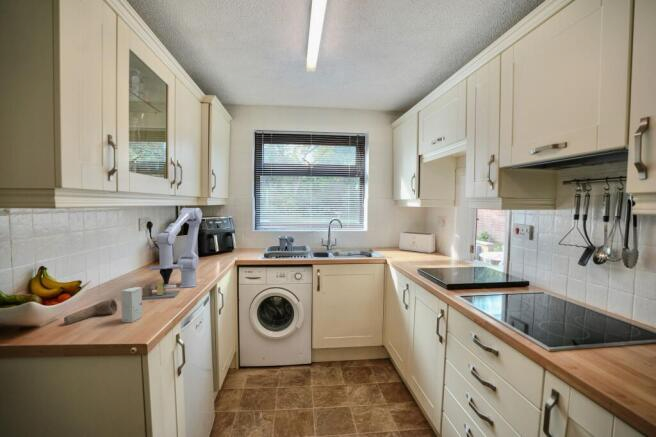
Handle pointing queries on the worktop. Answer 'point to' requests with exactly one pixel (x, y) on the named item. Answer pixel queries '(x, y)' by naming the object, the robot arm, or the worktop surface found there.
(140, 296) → the skincare box
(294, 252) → the worktop surface
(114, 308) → the pipe
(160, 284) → the collar
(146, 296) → the rail
